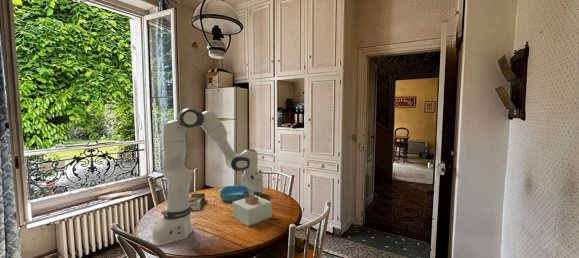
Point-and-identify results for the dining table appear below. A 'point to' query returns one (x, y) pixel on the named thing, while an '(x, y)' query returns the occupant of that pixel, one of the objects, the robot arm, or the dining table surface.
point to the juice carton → (196, 201)
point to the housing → (252, 211)
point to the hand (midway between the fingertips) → (251, 195)
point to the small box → (246, 194)
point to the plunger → (251, 200)
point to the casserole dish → (233, 193)
